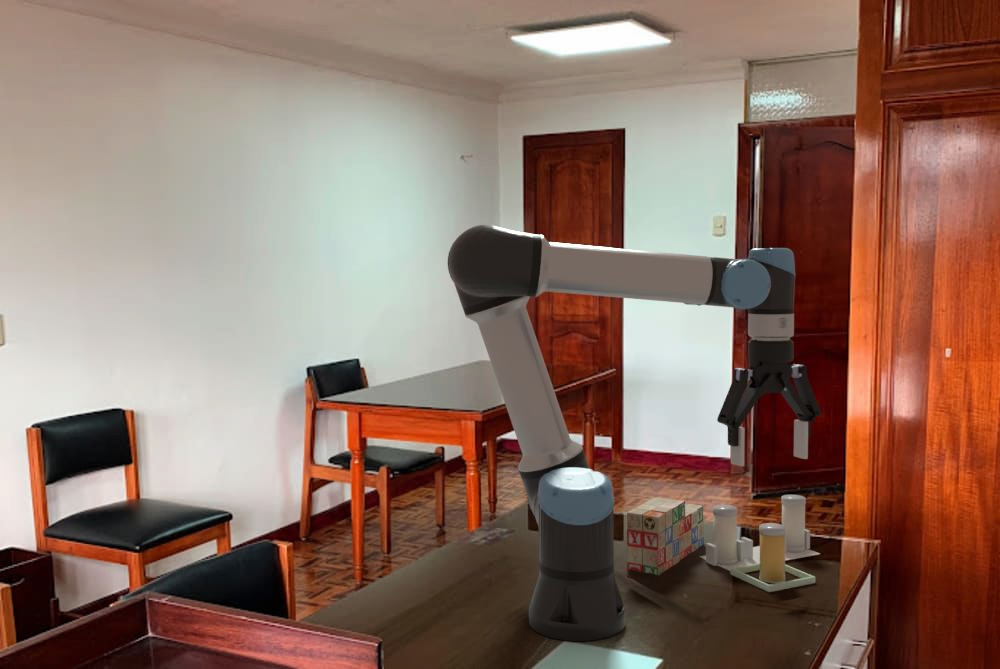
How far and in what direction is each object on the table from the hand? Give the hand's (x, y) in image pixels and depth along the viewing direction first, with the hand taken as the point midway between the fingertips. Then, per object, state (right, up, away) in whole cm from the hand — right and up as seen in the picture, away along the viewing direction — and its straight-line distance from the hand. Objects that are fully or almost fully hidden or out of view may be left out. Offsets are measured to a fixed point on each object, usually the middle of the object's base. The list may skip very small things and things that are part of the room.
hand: (769, 461), depth 158 cm
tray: (+1, -22, +1) cm, 22 cm away
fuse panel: (+2, -21, +13) cm, 25 cm away
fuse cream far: (+9, -19, +16) cm, 27 cm away
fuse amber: (+1, -21, 0) cm, 21 cm away
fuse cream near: (-5, -20, +10) cm, 23 cm away
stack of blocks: (-15, -22, +14) cm, 30 cm away
